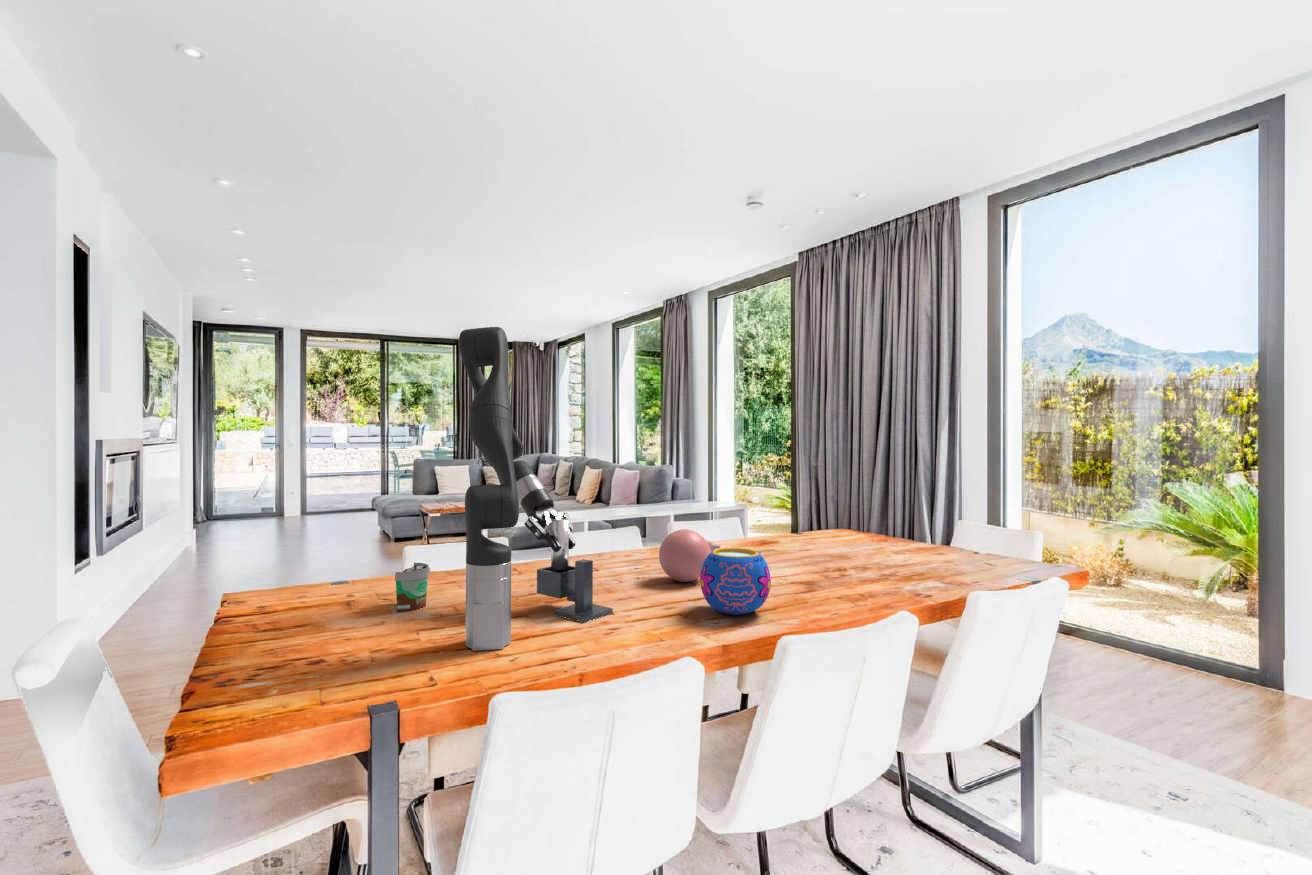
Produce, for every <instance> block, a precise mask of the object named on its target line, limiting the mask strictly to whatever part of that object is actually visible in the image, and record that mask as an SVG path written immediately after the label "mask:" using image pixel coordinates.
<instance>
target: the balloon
mask: <svg viewBox="0 0 1312 875" xmlns="http://www.w3.org/2000/svg"><path fill="white" fill-rule="evenodd" d="M659 547H660V548H659V551H658V560H659V563H660V566H661V569H662V571H663V572H664V574H666V575H667V576H668V577H669V578H671V579H672V580H674V581H677V582H680V583H681V582H683V583H689V582H693V581H696V580H698V579H700V574H701V569H702V565H703V563H704V561H705V559H706V558H707V556H708V555H709V554H710V553H711V552H713V551H714V550H717V549H721V545H720V544H718V543H717V544H716V543H713V541H711V540H707V539H705V537H703V536H702V535H701V534H700V533H699V532H697V531H694V530H692V529H677V530H675V531H673V532H671V533H669V534H668V535H667V536H666V537H665V538H664V539H663V541H662V543H661V545H660V546H659Z"/></svg>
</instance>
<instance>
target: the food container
mask: <svg viewBox="0 0 1312 875" xmlns="http://www.w3.org/2000/svg"><path fill="white" fill-rule="evenodd" d="M430 568H431V567H430V566H429V564H427V563H423V562H413V565H412V567H410V568H406V569H404V570H403V571H395V575H394V581H395V590H396V591H395V592H396V612H397V613H403V612H404V613H406V612H412V611H413V610H414V611H417V609H418V610H421V609H420V608H422V609H424V608H425V607H426V606H427V595H428V585H429V584H428V581H429V577H430V576H431V574H432V573H431V569H430ZM423 607H424V608H423Z"/></svg>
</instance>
